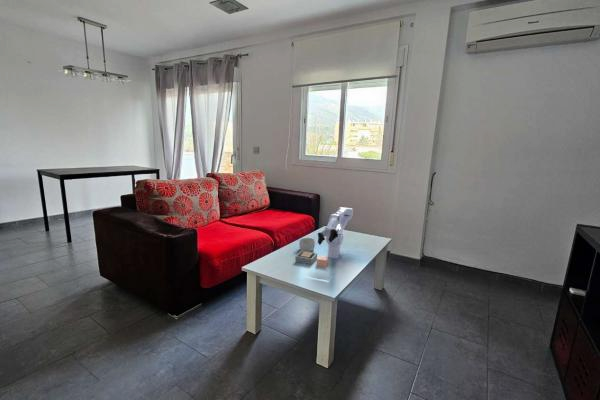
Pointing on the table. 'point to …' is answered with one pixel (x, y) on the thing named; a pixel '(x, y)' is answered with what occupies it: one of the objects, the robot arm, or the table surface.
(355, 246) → the table surface
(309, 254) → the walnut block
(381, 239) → the table surface
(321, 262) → the coral box
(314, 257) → the tote
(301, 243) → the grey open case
